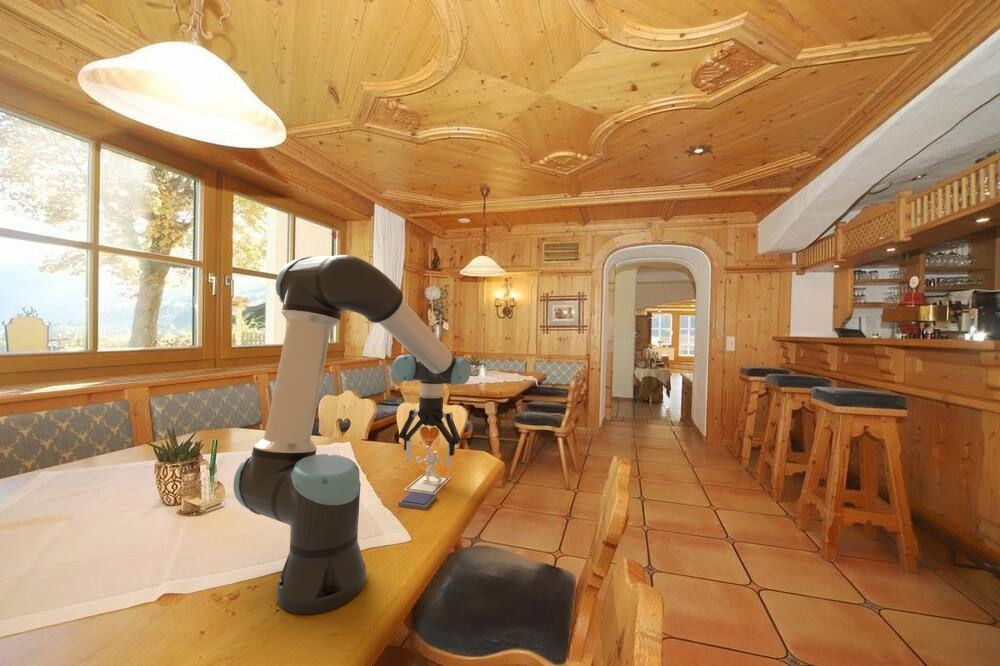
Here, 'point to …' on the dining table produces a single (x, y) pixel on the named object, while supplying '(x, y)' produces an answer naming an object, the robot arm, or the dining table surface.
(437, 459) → the figurine
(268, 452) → the robot arm
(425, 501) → the ink pad
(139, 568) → the dining table surface
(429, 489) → the print sheet
